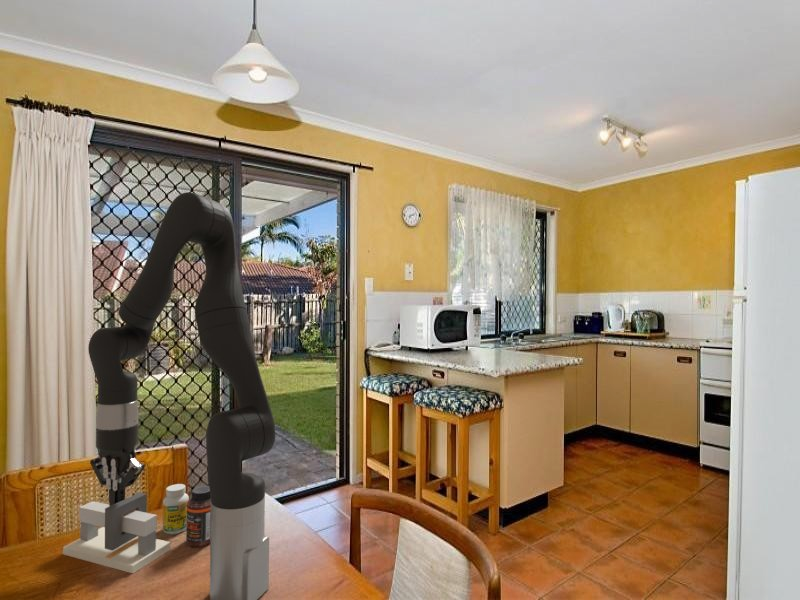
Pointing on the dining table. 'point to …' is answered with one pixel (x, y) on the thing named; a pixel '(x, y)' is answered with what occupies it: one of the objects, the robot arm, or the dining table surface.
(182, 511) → the supplement bottle
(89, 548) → the white bar stand
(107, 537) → the collar
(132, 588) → the dining table surface
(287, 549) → the dining table surface
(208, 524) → the supplement bottle
